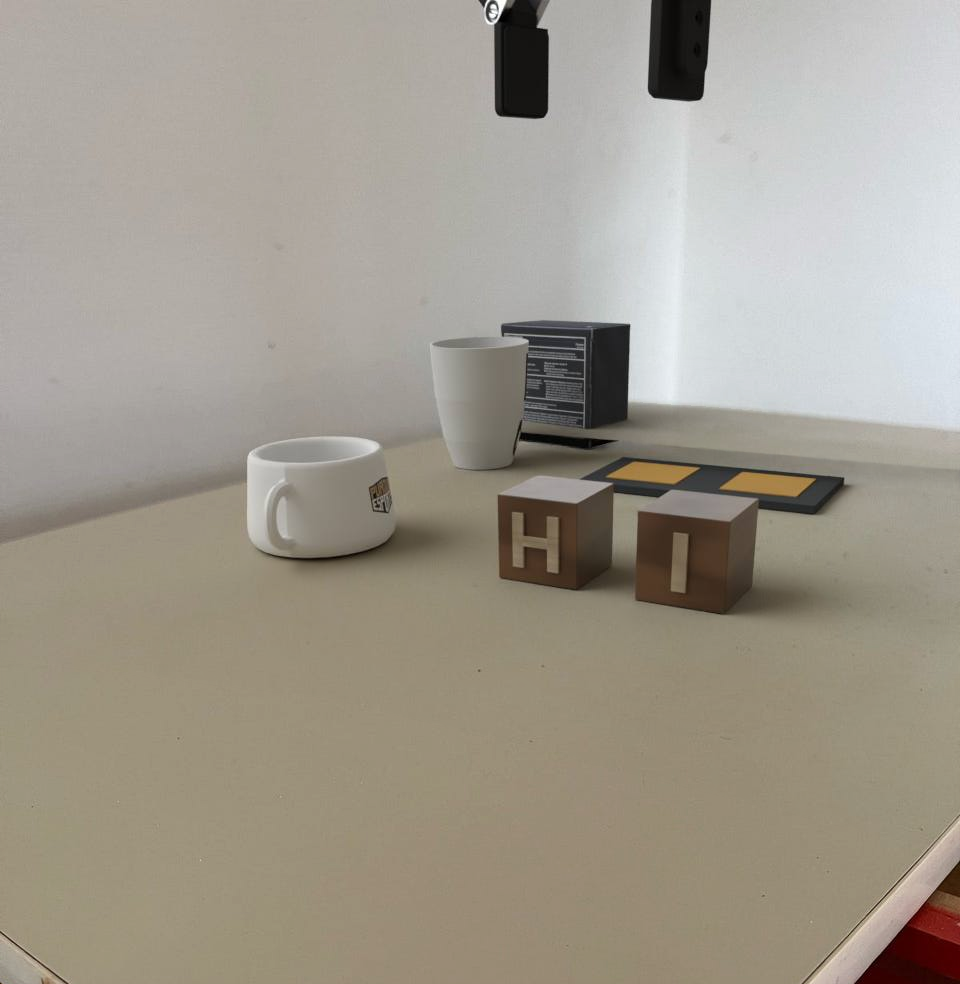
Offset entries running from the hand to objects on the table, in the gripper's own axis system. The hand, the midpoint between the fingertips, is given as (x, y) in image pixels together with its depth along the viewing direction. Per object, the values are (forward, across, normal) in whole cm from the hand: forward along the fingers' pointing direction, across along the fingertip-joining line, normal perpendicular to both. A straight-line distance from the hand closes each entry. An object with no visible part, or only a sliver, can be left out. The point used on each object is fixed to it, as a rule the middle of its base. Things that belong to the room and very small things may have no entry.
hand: (593, 108), depth 49 cm
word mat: (+24, +9, -24) cm, 35 cm away
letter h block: (+24, +3, -1) cm, 24 cm away
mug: (+24, +18, +6) cm, 31 cm away
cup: (+24, +28, -18) cm, 41 cm away
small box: (+24, +30, -30) cm, 48 cm away
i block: (+24, -5, -4) cm, 25 cm away
